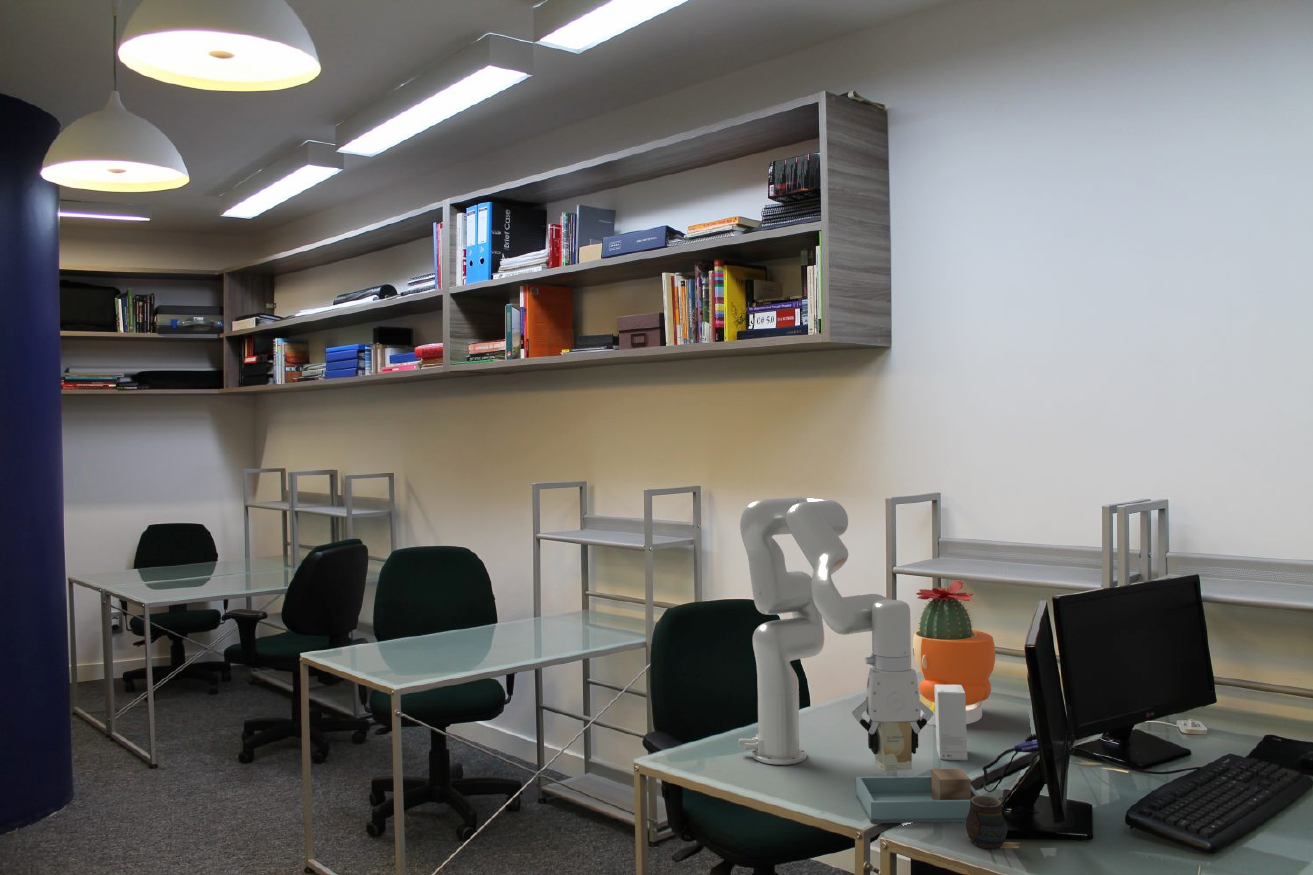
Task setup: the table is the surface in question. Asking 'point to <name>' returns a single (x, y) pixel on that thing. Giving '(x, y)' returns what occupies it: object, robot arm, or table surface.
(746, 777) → the table surface
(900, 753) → the skincare box
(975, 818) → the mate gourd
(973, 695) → the potted cactus
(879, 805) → the teal tray
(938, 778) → the walnut block
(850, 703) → the table surface
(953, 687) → the skincare box
